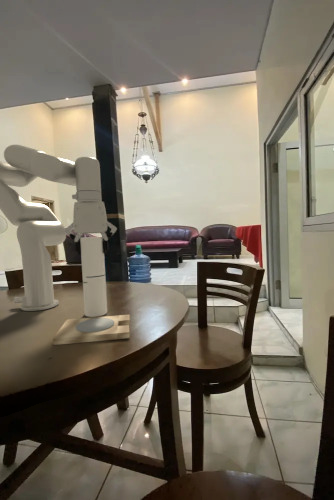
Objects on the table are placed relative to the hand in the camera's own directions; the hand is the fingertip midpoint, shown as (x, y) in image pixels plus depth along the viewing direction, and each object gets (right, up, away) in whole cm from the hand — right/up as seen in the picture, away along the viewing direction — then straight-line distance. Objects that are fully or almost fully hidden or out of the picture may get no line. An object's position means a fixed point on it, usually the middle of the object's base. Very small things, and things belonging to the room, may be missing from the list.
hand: (92, 253), depth 84 cm
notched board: (+5, -21, -14) cm, 26 cm away
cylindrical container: (+1, -20, +1) cm, 20 cm away
